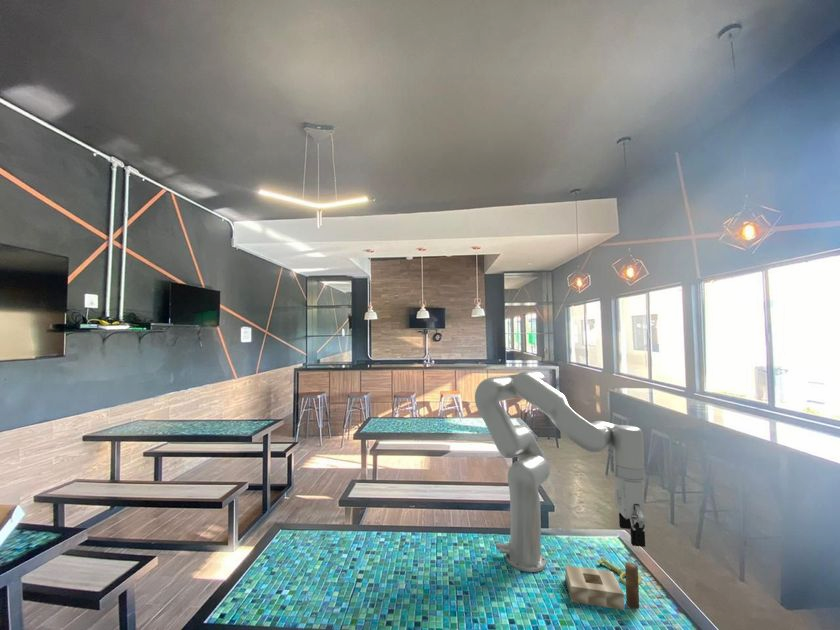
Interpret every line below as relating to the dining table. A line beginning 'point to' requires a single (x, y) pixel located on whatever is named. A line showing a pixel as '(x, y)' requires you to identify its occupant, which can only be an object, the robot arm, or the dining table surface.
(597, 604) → the maple hole block
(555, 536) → the dining table surface
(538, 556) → the robot arm
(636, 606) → the walnut peg
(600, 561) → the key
